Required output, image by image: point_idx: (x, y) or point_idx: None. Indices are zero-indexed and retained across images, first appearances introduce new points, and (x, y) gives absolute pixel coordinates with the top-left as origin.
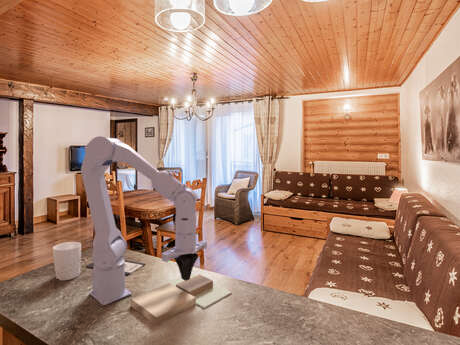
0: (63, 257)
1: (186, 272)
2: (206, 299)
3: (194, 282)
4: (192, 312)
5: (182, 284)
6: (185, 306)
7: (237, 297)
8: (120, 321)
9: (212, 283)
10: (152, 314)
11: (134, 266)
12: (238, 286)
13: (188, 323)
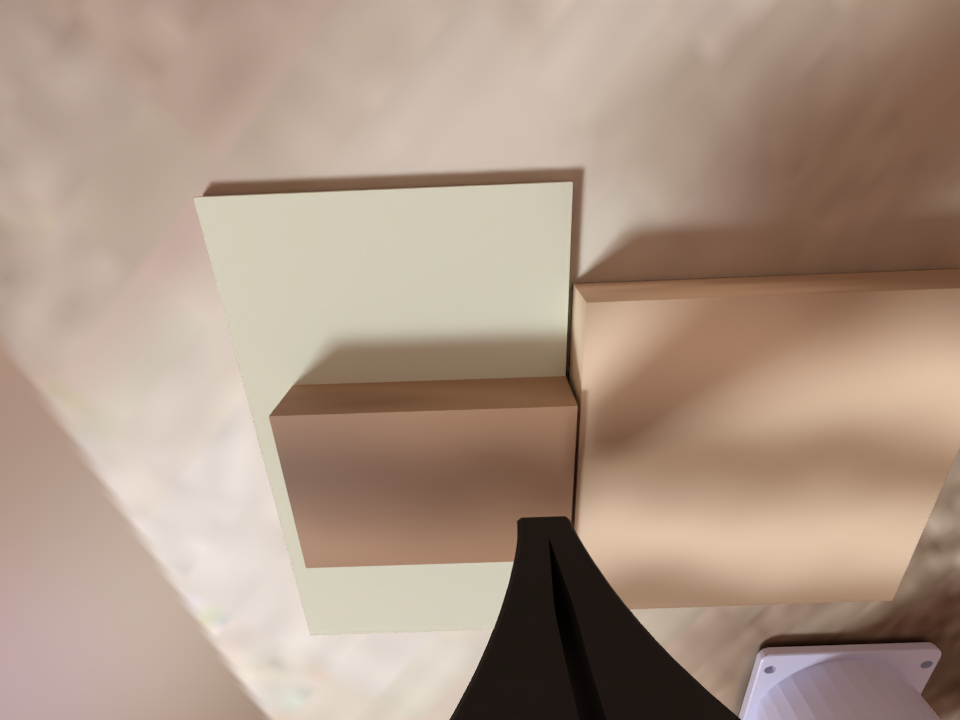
0: None
1: (603, 585)
2: (469, 268)
3: (430, 496)
4: (672, 213)
5: None
6: (698, 288)
7: (190, 90)
8: None
9: (285, 402)
10: None
11: None
12: (61, 245)
13: (816, 102)
